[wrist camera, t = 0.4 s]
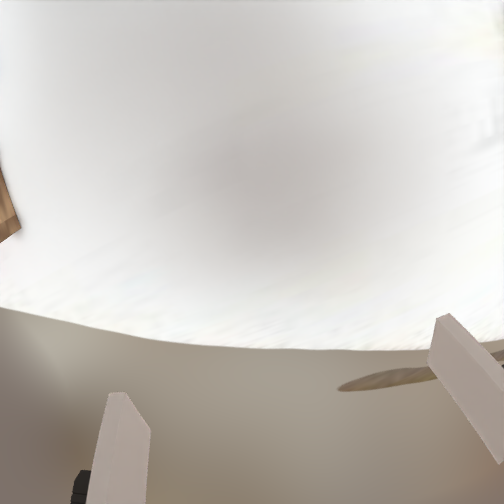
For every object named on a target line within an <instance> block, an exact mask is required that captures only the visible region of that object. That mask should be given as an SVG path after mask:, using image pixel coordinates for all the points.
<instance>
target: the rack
mask: <svg viewBox="0 0 504 504" xmlns="http://www.w3.org/2000/svg"><path fill="white" fill-rule="evenodd" d="M20 228H21V226H20V224H19V221H18V218H17V216H16V213H15V211H14V208H13V205H12V202H11V200H10V197H9V194H8V191H7V188H6V185H5V182H4V179H3V175H2V172H1V169H0V243H1V242H2V241H4V240H5V239H7V238H8V237H9V236H11V235H12V234H13V233H15V232H16V231H18V230H19V229H20Z"/></svg>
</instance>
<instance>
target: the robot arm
mask: <svg viewBox="0 0 504 504" xmlns="http://www.w3.org/2000/svg"><path fill="white" fill-rule="evenodd" d="M427 364H428V366H429V367H430V368H431V370H432V371H433V372H434V374H435V375H436V376H437V378H438V379H439V380H440V382H441V383H442V384H443V385H444V387H445V388H446V390H447V391H448V392H449V394H450V395H451V396H452V398H453V399H454V401H455V402H456V403H457V405H458V406H459V407H460V409H461V410H462V411H463V413H464V414H465V416H466V417H467V419H468V420H469V422H470V423H471V424H472V426H473V427H474V429H475V430H476V432H477V433H478V435H479V436H480V438H481V439H482V441H483V442H484V444H485V445H486V446H487V448H488V449H489V451H490V453H491V454H492V456H493V457H494V459H495V460H496V462H497V463H498V465H499V464H500V463H502V462H503V461H504V365H502V366H500V364H499V363H498V362H497V361H496V360H495V359H494V358H493V357H492V356H491V355H490V354H489V353H488V352H487V351H486V349H485V348H484V347H483V346H482V345H481V344H480V343H479V342H478V341H477V340H476V339H475V338H474V337H473V336H472V335H471V334H470V333H469V332H468V331H467V330H466V329H465V328H464V327H463V326H462V325H461V324H460V323H459V322H458V321H457V320H456V319H455V318H454V317H453V316H452V315H451V314H450V313H448V314H446V315H444V316H441V317H439V318H436V323H435V328H434V333H433V338H432V342H431V347H430V351H429V355H428V360H427ZM150 435H151V429H150V428H149V427H148V425H147V424H146V422H145V421H144V419H143V418H142V417H141V415H140V414H139V412H138V411H137V409H136V408H135V406H134V405H133V403H132V402H131V400H130V398H129V397H128V395H127V394H126V393H125V392H119V393H109V396H108V400H107V404H106V408H105V412H104V416H103V420H102V424H101V428H100V433H99V437H98V442H97V447H96V451H95V456H94V461H93V466H92V471H88V470H81V471H80V473H79V474H78V476H77V477H76V479H75V481H74V486H73V491H72V492H73V494H72V496H71V504H145V499H146V482H147V469H148V456H149V445H150Z"/></svg>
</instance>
